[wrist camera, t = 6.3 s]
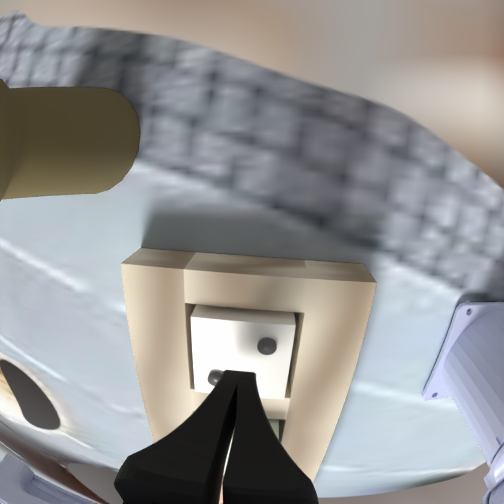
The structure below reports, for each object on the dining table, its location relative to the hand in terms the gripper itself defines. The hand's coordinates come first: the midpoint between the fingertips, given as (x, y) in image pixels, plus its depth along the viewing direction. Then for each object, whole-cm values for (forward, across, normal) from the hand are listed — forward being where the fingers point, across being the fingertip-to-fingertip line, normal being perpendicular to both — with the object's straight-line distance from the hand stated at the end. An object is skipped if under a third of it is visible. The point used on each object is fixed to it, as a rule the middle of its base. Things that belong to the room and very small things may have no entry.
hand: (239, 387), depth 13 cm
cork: (+5, +9, -10) cm, 15 cm away
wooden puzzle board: (+5, 0, +8) cm, 9 cm away
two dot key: (+6, 0, 0) cm, 6 cm away
